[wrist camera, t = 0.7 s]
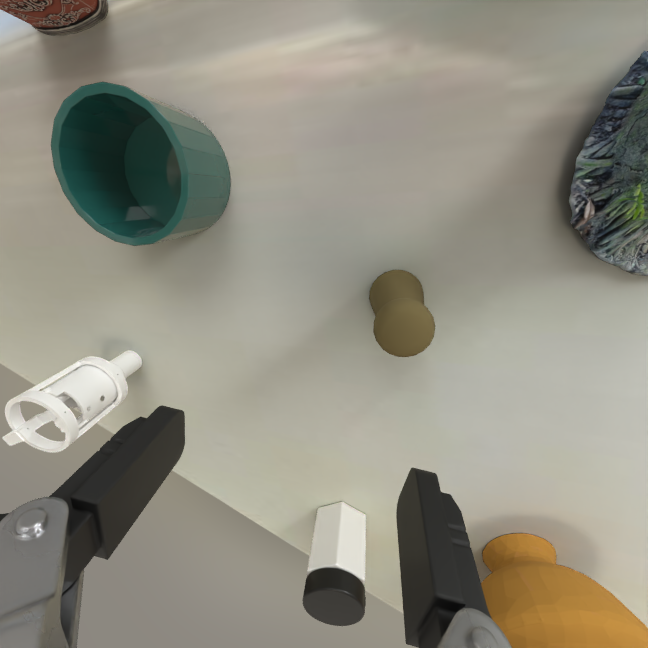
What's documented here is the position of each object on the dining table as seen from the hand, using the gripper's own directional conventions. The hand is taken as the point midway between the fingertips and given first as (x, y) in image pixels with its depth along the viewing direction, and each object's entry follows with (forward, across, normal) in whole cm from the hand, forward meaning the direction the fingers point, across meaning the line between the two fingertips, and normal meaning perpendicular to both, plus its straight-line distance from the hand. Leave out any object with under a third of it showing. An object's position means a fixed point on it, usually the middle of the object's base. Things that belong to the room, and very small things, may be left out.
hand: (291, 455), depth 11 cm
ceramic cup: (+27, +20, -6) cm, 35 cm away
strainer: (+27, +27, +19) cm, 43 cm away
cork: (+27, -6, +2) cm, 28 cm away
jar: (+27, -8, +41) cm, 49 cm away
